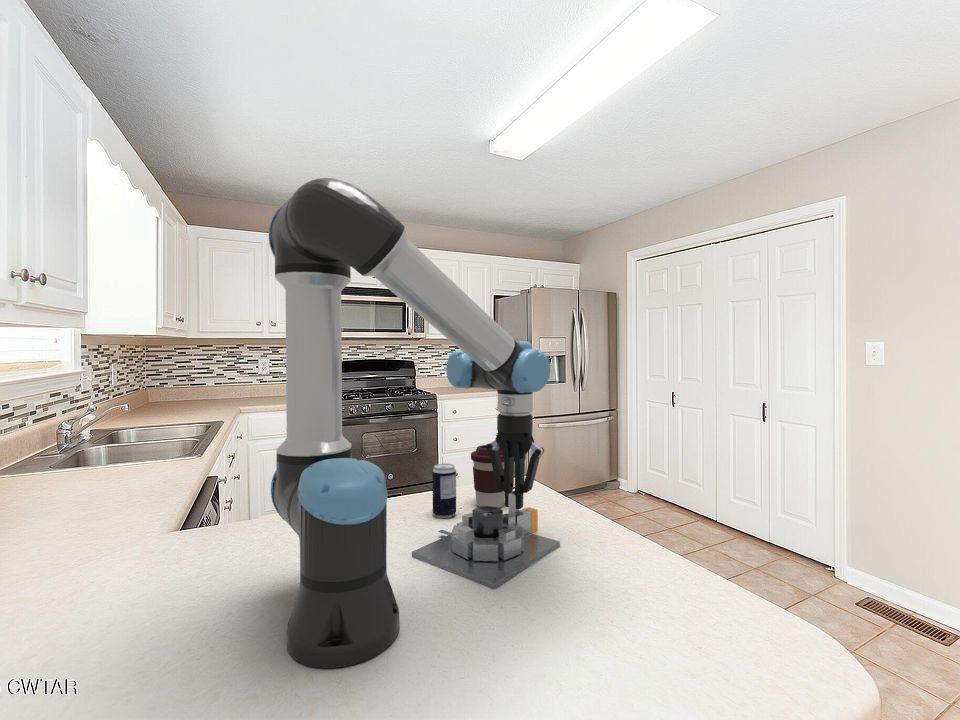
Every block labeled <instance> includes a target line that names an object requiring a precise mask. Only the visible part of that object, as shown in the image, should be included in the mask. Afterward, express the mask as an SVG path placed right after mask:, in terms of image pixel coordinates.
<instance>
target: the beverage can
mask: <svg viewBox="0 0 960 720" xmlns="http://www.w3.org/2000/svg"><path fill="white" fill-rule="evenodd" d="M431 475H432V513H433V515H435V517H436V518H439V519H449V518H451V517H454V515H455V513H456V512H457V470H456V467H455V464H453V463H437V464H435V465H434V466H433V470H432V473H431Z"/></svg>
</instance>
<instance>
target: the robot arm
mask: <svg viewBox="0 0 960 720" xmlns="http://www.w3.org/2000/svg"><path fill="white" fill-rule="evenodd" d="M407 236H408V234H407V227H406V226H405V225H404V224H403V223H402V222H401V221H400V220H398V219H397V218H396V217H395V215H394V214H393V213H391V212H390V211H389V210H388V209H387V208H386V207H384V206H383V205H382V204H381V203H380V202H378V200H376V199H375V198H373V197H372V196H371V195H369V194H368V193H366V192H365V191H363V189H360V188H359V187H357V186H355V185H354V184H352V183H349V182H347V181H344V180H341V179H337V178H333V177H324V178H323V177H322V178H316V179H311V180H310V181H307V182H305V183H304V184H302V185H301V186H300V187H298V188H297V189H296V191H295V192H294V193H293V194H292V196H291V197H289V199H288V200H287V201H286V202H284V203H283V204H282V205H281V206H279V207H278V209H277V210H276V212H275V213H274V215H273V217H272V218H271V221H270V224H269V227H268V244H269V248H270V251H271V253H272V255H273V257H274V278H275V280H276V281H278V283H279V284H280V285H281V286H282V287H283V288H284V290H285V377H286V378H285V383H286V384H285V385H286V389H285V390H286V391H285V392H286V393H285V394H286V397H285V398H286V399H285V401H286V404H285V405H286V407H285V408H286V409H285V410H286V413H285V414H286V437H285V440H284V441H282V443H281V444H280V445H279V446H278V447H277V448H276V460H275V461H276V463H275V464H276V470H275V471H274V472H273V476H272V478H271V482H270V496H271V497H270V498H271V502H272V505H273V507H274V509H275V510H276V513H277V514H278V515H279V517H281V519H282V520H283V521H285V522H286V523H287V524H288V525H289V526H290V528H291V529H292V530H293V531H294V532H295V534H296V535H297V536H298V539H299V540H298V541H299V575H300V576H299V587H298V591H297V593H296V596H295V601H294V603H293V608H292V611H291V615H290V618H289V620H288V622H287V626H286V627H287V628H286V648H287V653H289V655H290V656H291V657H292V658H293V660H295V661H297V662H298V663H301V664H303V665H306V666H309V667H314V668H322V669H323V668H324V669H325V668H326V669H328V668H329V669H332V668H343V667H347V666H353V665H356V664H360V663H362V662H365V661H368V660H370V659H372V658H374V657H376V656H378V655H380V654H381V653H382V652H384V651H385V650H386V649H387V648H389V647H390V646H391V645H392V644H393V643H394V642H395V640H396V639H397V637H398V634H399V632H400V609H399V605H398V603H397V599H396V596H395V593H394V591H393V587H392V585H391V583H390V579H389V577H388V576H389V575H388V572H387V530H388V529H387V525H388V523H387V520H388V518H387V509H388V508H387V506H388V505H387V503H388V490H387V486H386V485H387V484H386V476H385V473H384V472H383V470H382V469H381V467H379V466H378V465H376V464H375V463H373V462H371V461H368V460H364V459H359V460H358V459H357V458H352V457H353V454H352V453H353V452H352V450H353V449H352V443H351V442H350V441H349V440H348V439H347V438H346V437H344V435H343V385H342V383H343V381H342V380H343V376H342V375H343V374H342V373H343V372H342V371H343V369H342V368H343V367H342V365H343V364H342V363H343V362H342V361H343V360H342V353H343V352H342V351H343V350H342V341H343V340H342V292H343V290H344V289H345V288H346V287H347V286H348V285H349V284H350V283H351V281H352V279H351V273H352V272H351V271H352V270H351V268H352V269H354V270H355V271H356V272H357V273H358V274H360V275H361V276H362V277H374V278H375V279H377V281H378V282H380V283H381V284H382V285H384V287H386V288H387V289H388V290H389V291H390V292H392V293H393V294H394V295H395V296H397V298H398V299H400V300H401V302H403V303H405V304H406V305H407V306H408V307H409V308H411V310H413V311H414V312H415V313H416V314H418V315H419V316H420V317H421V318H423V319H424V320H425V321H426V322H427V323H428V324H430V325H431V327H433V328H434V329H435V330H436V331H438V332H439V333H440V334H441V335H442V336H444V338H446V339H447V340H448V341H449V342H451V343H452V344H453V345H454V346H456V348H458V349H459V350H455V351H453V352H451V354H449V356H448V357H447V361H446V366H445V367H446V377H447V379H448V382H449V384H450V386H452V387H454V388H456V389H471V388H473V389H475V388H476V389H477V388H478V389H487V390H496V391H497V393H496V394H497V401H496V402H497V404H496V405H497V412H499V413H498V414H497V416H496V418H497V420H496V422H497V423H496V424H497V425H496V430H497V434H496V436H495V439H494V440H493V441H491V442H490V443H486V444H485V445H486V448H487V450H488V452H489V454H490V457H491V462H492V467H493V472H494V477H495V481H496V486H497V488H498V489H502V490H503V491H504V492H505V501H504V506H505V508H508V514H510V513H513V512H516V511H519V510H522V509H523V507H524V494H527V493H528V492H530V491H531V490H533V486H534V482H535V477H536V474H537V470H538V467H539V462H540V458H541V457H542V456H543V454H544V453H545V448H544V447H539V445H537V444H536V443H535V440H534V438H533V415H532V414H531V413H532V412H533V411H534V410H533V405H534V404H533V393H537V392H539V391H541V390H543V389H544V388H545V387H546V385H547V383H548V381H549V380H550V376H551V364H550V361H549V359H548V356H546V354H545V353H544V352H542V351H541V350H537V349H533V345H532V343H531V342H529V341H526V340H525V341H523V340H519V341H518V340H517V341H516V340H515V339H514V337H512V336H511V335H510V334H509V333H508V332H507V331H506V330H505V329H504V328H503V327H501V326H500V324H498V323H497V322H496V321H495V320H494V319H493V318H492V317H491V316H490V315H489V314H488V313H487V312H485V310H484V309H482V308H481V306H479V305H478V303H476V302H475V301H474V300H473V299H472V298H471V297H470V296H469V295H468V294H467V293H466V292H464V290H463V289H462V288H460V287H459V286H458V285H457V284H456V283H455V282H454V281H453V280H452V279H451V278H450V277H449V276H448V275H447V274H446V273H445V272H443V271H442V270H441V269H440V267H438V266H437V265H436V264H435V263H434V262H433V261H432V260H431V259H429V257H427V255H425V254H424V253H423V252H422V251H421V250H420V249H419V247H417V246H416V245H415V244H414V243H413V242H412V241H411V240H409V239H408V237H407ZM499 447H500V449H501V451H502V452H503V461H504V470H503V465H502V461H501V456H500V452H499ZM529 451H530V455H531V456H530V459H529V462H528V466H527V470H526V469H525V465H526V464H525V463H526V462H525V461H526V458H527V454H528V453H529ZM525 470H526V471H525ZM525 472H526V474H525Z"/></svg>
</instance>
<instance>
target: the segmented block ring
mask: <svg viewBox="0 0 960 720" xmlns="http://www.w3.org/2000/svg"><path fill="white" fill-rule="evenodd" d="M538 512H539V511H538V509H537V508H534V507H530V506H528V507H524V508H521V509H519V511H516V512H513V513H510V514H508V513H503V529H501V530H499V537H498V538H477V537H474V529H472V512H469V513H465V514H462V518H461V519H462V521H461V522H460V521H459V522H457V523H456V524H455V525H453V527H452V530H451V532H450V533H451V549H452V552H454V553H456V554H458V555H460V556H462V557H464V558H466V559H470V558H473V561H498V558H500V559H502V560H506V559H509V558H511V557H514V556H516V555H519V554H521V551H523V536H524V535H527V534H529V533H533V532H536V531H537V532H539V528H538V525H539V524H538V517H539V514H538Z"/></svg>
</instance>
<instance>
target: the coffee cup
mask: <svg viewBox="0 0 960 720" xmlns="http://www.w3.org/2000/svg"><path fill="white" fill-rule="evenodd" d="M486 445H487V444H482V445H479V446H476V448H475V450H474V451H472V452H471V453H470V460H471V461H472V464H473V466H472V473H473V487H474V491H475V504H476V506H477V507H483V506H492V507H497V508H500V509H501V508H502V507H504V506H505V492H504V491H503V490H502V489H498V488H497V486H496V481H495V477H494V472H493V467H492V462H491V457H490V454H489V452H488V450H487V448H486ZM499 452H500V456H501V461H502V465H503V470H504V461H503V452H502V451H501V449H500V447H499Z"/></svg>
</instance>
